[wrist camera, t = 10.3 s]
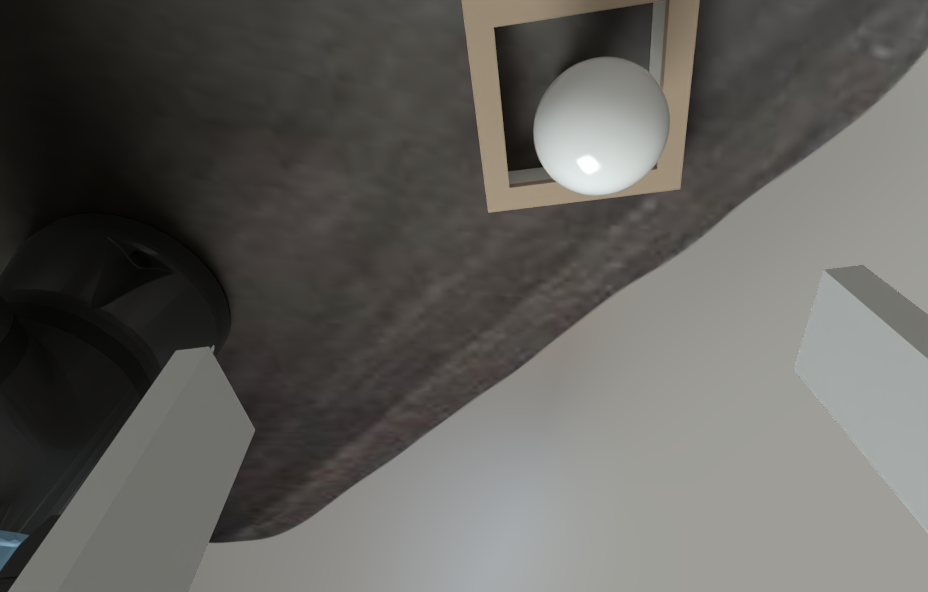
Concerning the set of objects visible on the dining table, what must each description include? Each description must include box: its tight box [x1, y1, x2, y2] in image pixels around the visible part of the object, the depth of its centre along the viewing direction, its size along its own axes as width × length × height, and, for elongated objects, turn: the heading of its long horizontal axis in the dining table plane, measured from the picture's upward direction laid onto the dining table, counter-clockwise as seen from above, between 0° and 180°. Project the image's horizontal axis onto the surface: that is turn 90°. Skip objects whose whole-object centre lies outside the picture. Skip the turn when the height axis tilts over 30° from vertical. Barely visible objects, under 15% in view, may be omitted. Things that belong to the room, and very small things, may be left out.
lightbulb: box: [533, 57, 670, 196], centre depth 26 cm, size 6×6×11 cm
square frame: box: [462, 0, 700, 213], centre depth 30 cm, size 12×12×3 cm
